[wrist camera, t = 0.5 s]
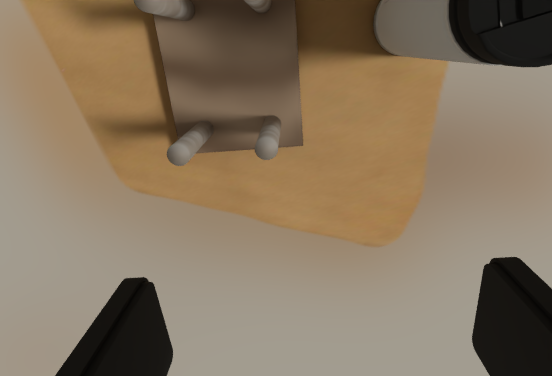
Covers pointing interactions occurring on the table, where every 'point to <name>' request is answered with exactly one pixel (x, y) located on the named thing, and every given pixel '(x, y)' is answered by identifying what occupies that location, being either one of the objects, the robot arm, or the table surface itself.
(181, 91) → the peg stand
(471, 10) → the travel mug
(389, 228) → the table surface
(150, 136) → the table surface
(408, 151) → the table surface
